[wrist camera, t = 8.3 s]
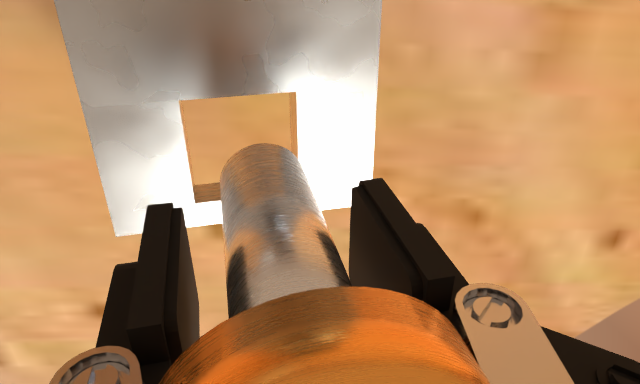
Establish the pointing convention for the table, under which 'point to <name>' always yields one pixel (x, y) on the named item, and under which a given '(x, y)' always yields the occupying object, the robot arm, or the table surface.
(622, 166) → the table surface
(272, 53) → the grey cross bracket
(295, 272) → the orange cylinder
